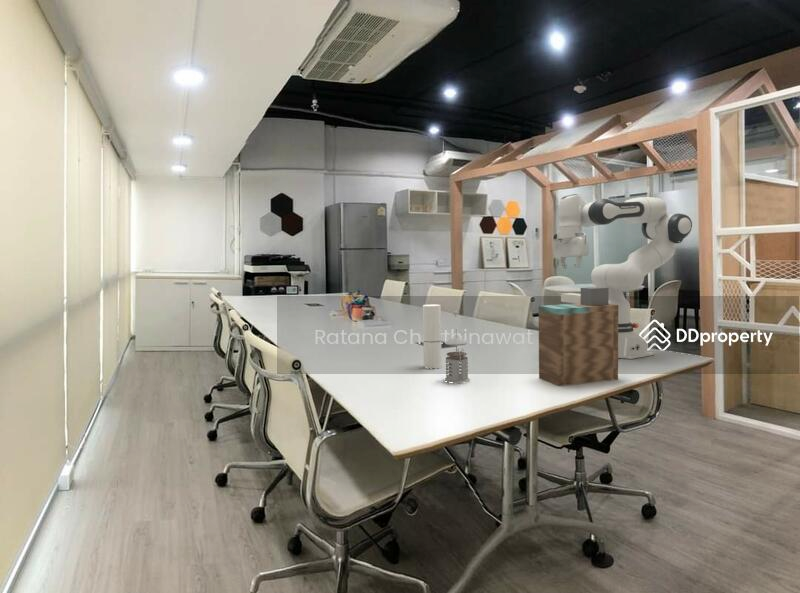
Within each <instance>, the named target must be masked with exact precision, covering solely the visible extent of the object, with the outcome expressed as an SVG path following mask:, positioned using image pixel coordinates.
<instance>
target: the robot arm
mask: <svg viewBox="0 0 800 593" xmlns="http://www.w3.org/2000/svg"><path fill="white" fill-rule="evenodd" d="M558 218H559V224H558V225H559V226H558V230H557V232H555V233H554V234H552V236H551V238H552V241H553V242H552V254H553V255H552V256H553V258H554V259H558V260H559V263H560V268H561V269H562V270H563V269H567V267H568V266H567V264H566V258H575V263H574V264H573V265H574V269H580V268H581V263H582V261H583V257H587V256H589V253H590V248H589V241H588V238H587V234H586V233H585V232H582V231H583V230H582V227H583V228H591V227H595V226H603V225H605V226H606V225H608V224H611V223H613V222H614V221H616V220H619V219H623V221H624V222H626V223H627V224H637V225H638V224H641V232H642V235H643V237H644V238H646V239H648V240H650V242H649V243H647V244H645V245H643V246H641V247H639V248H637V249H636V250H634V251H633V252H631V253H630V254H629V255H628V256H627V260H626V261H623V262H621V263H604V264H601V265H597V266H596V267H594V268H593V269H592V271H591V274H590V279H591V283H592V284H593V285H594V287H604V288H609V303H608V304H613V305H618V359H628V360H630V359H631V360H633V359H638V358H644V357H650V356H653V355H654V352H653V351H651V350H648V344H647V340H646V339H644V338H643V337H642V336H641V335H639V334H638V333H637V332H636V331H635V330H634V329H638V328H639V324H638V323H636V322H633V323H632V322H631V304H630V302H629V300H627V299H626V297H625V294H624V292H628V291H629V292H630V291H633V290H637V289H639V288H641V286H643V284H644V280H645V277H646V276H647V275H648V274H649V275H650V273H652V272H654V271H655V270H656V269H658V268H660V267H662V266H663V265H665V264H666V263H667V262H668V261H670V259H671V258H672V257H674V255H675V253H676V247H675V245H676V244H681V243H682V242H683V240H684V239H685V238H686V237H688V236H689V235H690V233H691V231H692V228H693V222H692V219H691V217H690V216H688V215H687V214H684V213H668V212H667V203H666V202H665V201H664V200H663V199H662V198H660V197H652V196H640V197H634V198H629V199H627V200H624V202H617V201H613V200H610V199H607V198H601V199H597V200H596V201H592V202H589V201H586V200H585V199H583V198H582V196H580V194H579V193H574V194H569V195H564V196H563V197H561V198H560V200H559V205H558ZM623 291H624V292H623Z"/></svg>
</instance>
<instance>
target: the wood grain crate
mask: <svg viewBox="0 0 800 593" xmlns="http://www.w3.org/2000/svg"><path fill="white" fill-rule="evenodd" d="M538 379H540V380H542V381H545V382H546V383H547V382H548V383H549V384H550V383H551V384H553V385H555V386H557V387H558V386H559V387H560V386H569V385H570V386H571V385H578V384H588V382H589V383H596V381H597V382H605V381H604V380H606V381H613V380H612V379H615V380H618V379H619V358H618V305H613V304H608V305H601V306H587V305H581V304H577V303H566V304H565V303H563V304H549V305H538Z"/></svg>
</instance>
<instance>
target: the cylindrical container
mask: <svg viewBox="0 0 800 593" xmlns="http://www.w3.org/2000/svg"><path fill="white" fill-rule="evenodd" d="M441 307H442V306H441V304H436V303H435V304H433V303H432V304H423V305H422V332H423V333H422V334H423V336H422V338H423V339H422V340H423V368H424V367H427V368H439V369H441V368H440V367H443V364H442V363H443V362H442V358H443V357H442V356H443V355H442V353H443V352H442V317H441V316H442V314H441Z"/></svg>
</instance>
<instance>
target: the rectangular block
mask: <svg viewBox="0 0 800 593" xmlns="http://www.w3.org/2000/svg"><path fill="white" fill-rule="evenodd" d="M560 302H563V303H568V304H581V305H587V306H601V305H608V303H609V288H604V287H596V286H590V287H589V286H588V287H580V293H573V292H569V293H564V292H563V293H560Z"/></svg>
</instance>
